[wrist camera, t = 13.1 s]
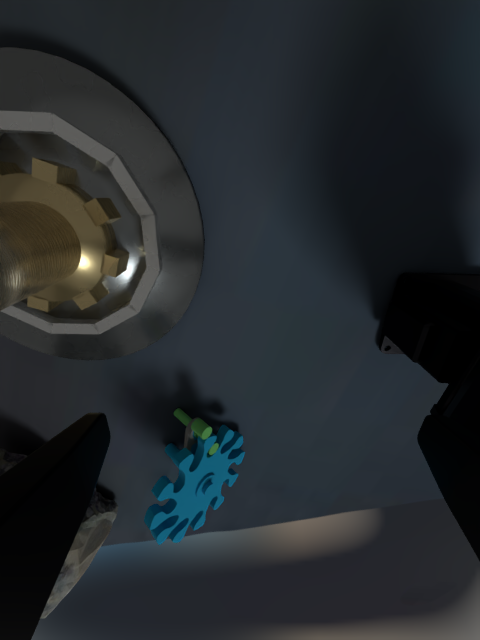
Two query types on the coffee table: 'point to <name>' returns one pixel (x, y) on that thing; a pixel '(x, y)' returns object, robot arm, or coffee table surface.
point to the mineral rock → (85, 541)
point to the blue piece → (194, 478)
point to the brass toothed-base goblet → (54, 238)
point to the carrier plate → (103, 182)
